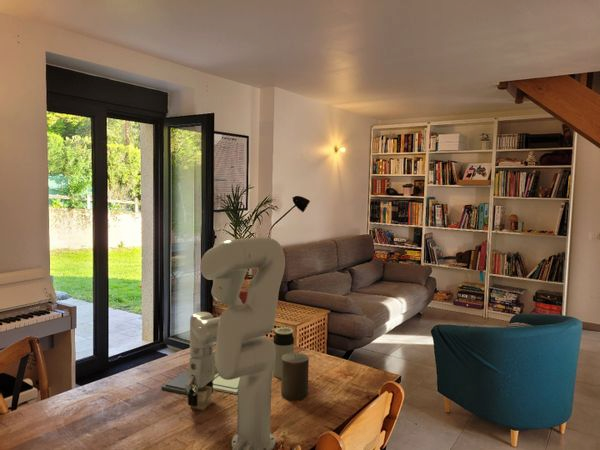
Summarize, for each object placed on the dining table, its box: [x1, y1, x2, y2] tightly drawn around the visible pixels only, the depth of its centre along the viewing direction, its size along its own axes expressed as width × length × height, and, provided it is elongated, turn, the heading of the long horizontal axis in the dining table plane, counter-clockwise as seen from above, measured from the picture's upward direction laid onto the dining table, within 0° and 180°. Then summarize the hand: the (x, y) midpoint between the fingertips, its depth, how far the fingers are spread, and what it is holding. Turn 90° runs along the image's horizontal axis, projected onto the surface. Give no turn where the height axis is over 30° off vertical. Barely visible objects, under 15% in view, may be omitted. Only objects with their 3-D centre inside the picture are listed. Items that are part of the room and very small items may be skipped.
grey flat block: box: [161, 371, 196, 396], centre depth 171 cm, size 14×11×2 cm
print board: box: [213, 373, 240, 395], centre depth 174 cm, size 16×14×1 cm
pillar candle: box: [280, 352, 310, 402], centre depth 165 cm, size 10×10×15 cm
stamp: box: [190, 384, 213, 412], centre depth 155 cm, size 5×5×8 cm
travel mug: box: [272, 326, 295, 379], centre depth 181 cm, size 8×8×18 cm
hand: (200, 399), depth 156 cm, fingers open, 9 cm apart
